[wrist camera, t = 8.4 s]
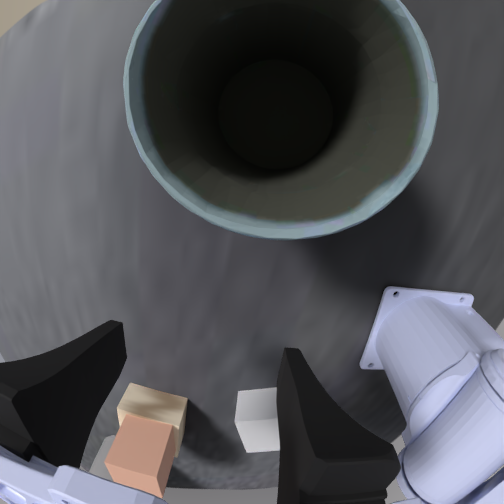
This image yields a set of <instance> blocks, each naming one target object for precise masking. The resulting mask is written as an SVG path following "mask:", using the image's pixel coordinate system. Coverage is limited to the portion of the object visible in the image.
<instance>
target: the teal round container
mask: <svg viewBox="0 0 504 504" xmlns="http://www.w3.org/2000/svg"><path fill="white" fill-rule="evenodd" d="M123 87H124V97H125V106H126V115H127V123H128V127H129V130H130V132H131V135H132V137H133V140H134V142H135V145H136V147H137V150H138V152H139V154H140V157H141V158H142V160H143V161H144V163H145V164H146V166H147V167H148V169H149V170H150V172H151V173H152V175H153V176H154V178H155V179H156V180H157V181H158V182H159V183H160V184H161V185H162V186H163V187H164V189H165V190H166V191H167V192H168V193H169V194H170V195H171V196H172V197H173V198H174V199H175V200H177V201H178V202H179V203H180V204H182V205H183V206H184V207H185V208H187V209H188V210H189V211H191V212H193V213H195V214H196V215H198V216H200V217H201V218H203V219H205V220H207V221H208V222H210V223H212V224H214V225H217V226H219V227H221V228H224V229H226V230H229V231H232V232H236V233H239V234H242V235H247V236H251V237H255V238H262V239H270V240H297V239H308V238H318V237H322V236H326V235H330V234H334V233H337V232H340V231H343V230H345V229H348V228H350V227H353V226H355V225H357V224H360V223H362V222H363V221H365V220H367V219H369V218H371V217H372V216H373V215H375V214H376V213H378V212H379V211H381V210H382V209H384V208H385V207H386V206H387V205H388V204H390V203H391V202H392V201H393V200H394V199H395V198H396V197H397V196H398V195H399V194H400V193H402V192H403V190H404V189H405V188H406V187H407V185H408V184H409V183H410V181H411V180H412V179H413V177H414V176H415V175H416V173H417V172H418V171H419V169H420V167H421V165H422V163H423V161H424V159H425V157H426V155H427V153H428V151H429V148H430V146H431V144H432V140H433V136H434V132H435V127H436V122H437V117H438V111H439V96H438V84H437V78H436V73H435V68H434V63H433V59H432V56H431V53H430V50H429V47H428V44H427V41H426V39H425V37H424V35H423V33H422V31H421V29H420V27H419V26H418V24H417V22H416V21H415V19H414V18H413V17H412V15H411V14H410V12H409V11H408V10H407V8H406V7H405V6H404V4H403V3H402V2H401V1H400V0H155V1H154V3H153V4H152V5H151V6H150V8H149V10H148V11H147V13H146V14H145V16H144V17H143V19H142V20H141V22H140V24H139V25H138V27H137V29H136V30H135V33H134V36H133V38H132V41H131V45H130V48H129V51H128V54H127V57H126V61H125V69H124V79H123Z"/></svg>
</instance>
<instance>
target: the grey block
mask: <svg viewBox="0 0 504 504" xmlns="http://www.w3.org/2000/svg"><path fill="white" fill-rule="evenodd" d="M276 393H277V387H275V388H266V389H257V390H246V391H238V399H237V407H236V415H235V424H236V427H237V429H238V432H239V434H240V437H241V440H242V442H243V445H244V447H245V450H246V452H247V453H250V452H265V451H276V450H280V440H279V428H278V417H277V405H276Z"/></svg>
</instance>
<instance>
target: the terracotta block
mask: <svg viewBox="0 0 504 504" xmlns="http://www.w3.org/2000/svg"><path fill="white" fill-rule="evenodd" d="M175 452H176V448H175V440H174V432H173V425H171V424H166V423H162V422H157V421H153V420H148V419H144V418H140V417H136V416H132V415H128V414H126V416H125V418H124V420H123V422H122V424H121V426H120V428H119V431H118V433H117V435H116V437H115V439H114V441H113V444H112V446H111V448H110V450H109V452H108V454H107V457H106V459H105V461H104V463H105V465H106V467H107V469H108V471H109V473H110V475H111V477H112V479H113V481H114V482H116V483H120V484H123V485H126V486H129V487H133V488H136V489H139V490H142V491H145V492H148V493H151V494H153V495H155V496H157V497H160V498H163V495H164V491H165V488H166V484H167V481H168V477H169V473H170V470H171V466H172V463H173V459H174V455H175Z"/></svg>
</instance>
